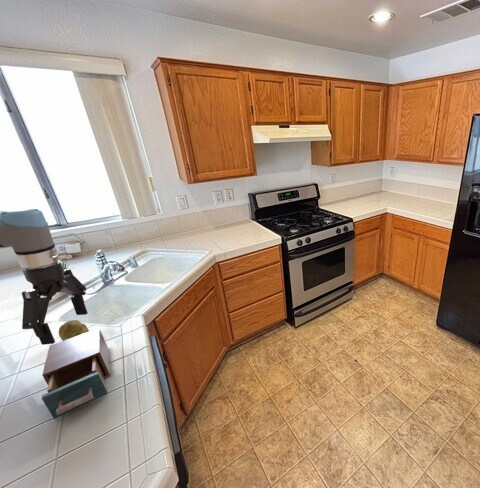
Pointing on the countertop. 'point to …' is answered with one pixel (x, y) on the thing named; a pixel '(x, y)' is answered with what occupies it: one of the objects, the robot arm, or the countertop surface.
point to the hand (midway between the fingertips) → (66, 327)
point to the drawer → (75, 387)
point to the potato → (72, 329)
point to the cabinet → (77, 353)
